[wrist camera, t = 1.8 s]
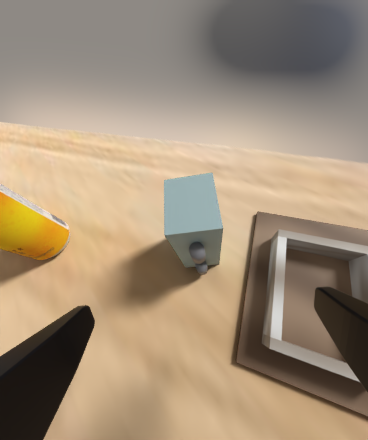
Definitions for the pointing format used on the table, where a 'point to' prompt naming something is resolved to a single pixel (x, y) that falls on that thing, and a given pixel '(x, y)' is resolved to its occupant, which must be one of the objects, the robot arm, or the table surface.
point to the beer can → (29, 228)
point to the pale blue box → (193, 220)
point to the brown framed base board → (301, 304)
